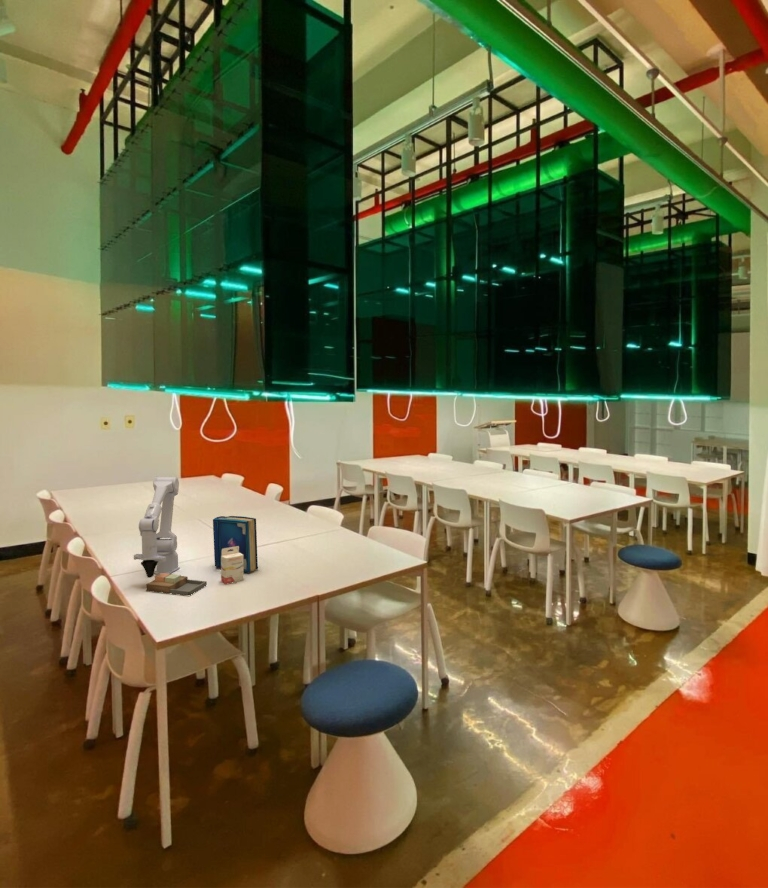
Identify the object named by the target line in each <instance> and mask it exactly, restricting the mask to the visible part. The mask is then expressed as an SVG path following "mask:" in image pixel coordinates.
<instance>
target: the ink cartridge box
mask: <svg viewBox="0 0 768 888" xmlns="http://www.w3.org/2000/svg"><path fill="white" fill-rule="evenodd" d="M230 549H231V550H232V549H233V551H229V552H227V551H228V550H230ZM243 568H244V566H243V554H241V553H239V546H236V547H230V548H224V549H222V555H221V568H220V574H221V575H220V576H221V577H220V580H221V582H222V583H223V584H225V585H228V584H227V583H229V584H232V582H233V583H237V582H240V580H242V581H244V572H243V571H244V569H243ZM236 581H237V582H236Z"/></svg>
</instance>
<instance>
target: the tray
mask: <svg viewBox="0 0 768 888" xmlns="http://www.w3.org/2000/svg"><path fill="white" fill-rule="evenodd" d="M206 585H207V581H206V580H197V579H188V580H187V584H185V585H183V586H181V587H180V588H178V589H176V590H175V589H170V593H172V594H171V595H176V594H180V595H179V596H184V595H190V596H192V595H194V594H195V593H197V592H198V590H199V589H200V590H201V588H202V589H203V588H205V587H207V586H206ZM204 586H205V587H204ZM200 590H199V591H200ZM196 591H197V592H196ZM194 592H195V593H194ZM193 593H194V594H193ZM191 594H192V595H191Z"/></svg>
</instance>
